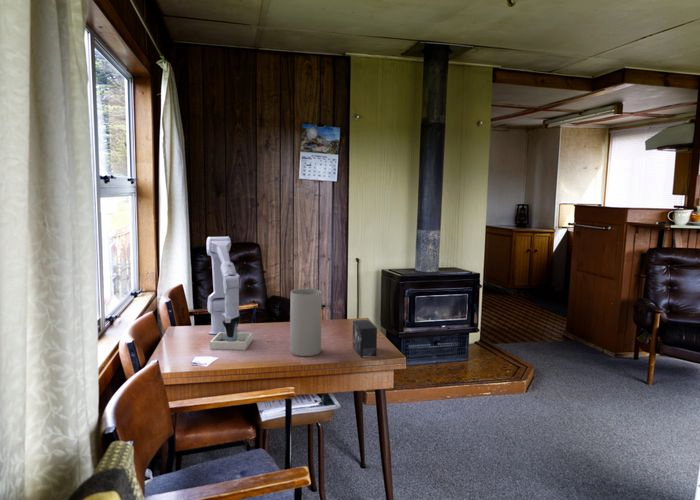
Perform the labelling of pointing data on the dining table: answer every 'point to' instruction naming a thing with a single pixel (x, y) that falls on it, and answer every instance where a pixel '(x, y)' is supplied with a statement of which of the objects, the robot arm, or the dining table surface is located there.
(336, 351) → the dining table surface
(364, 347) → the small box
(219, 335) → the grey shallow square tray
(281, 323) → the dining table surface
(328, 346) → the dining table surface
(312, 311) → the cylinder vase
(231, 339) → the cylinder
